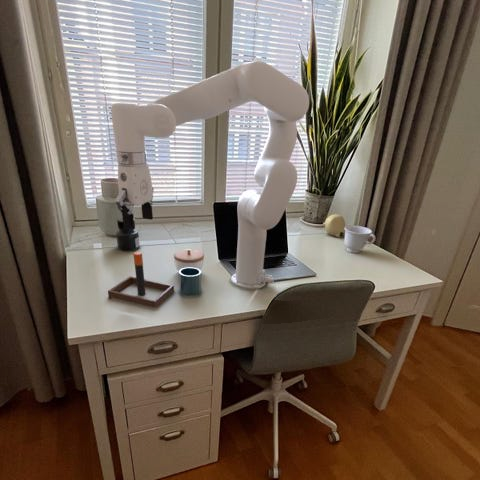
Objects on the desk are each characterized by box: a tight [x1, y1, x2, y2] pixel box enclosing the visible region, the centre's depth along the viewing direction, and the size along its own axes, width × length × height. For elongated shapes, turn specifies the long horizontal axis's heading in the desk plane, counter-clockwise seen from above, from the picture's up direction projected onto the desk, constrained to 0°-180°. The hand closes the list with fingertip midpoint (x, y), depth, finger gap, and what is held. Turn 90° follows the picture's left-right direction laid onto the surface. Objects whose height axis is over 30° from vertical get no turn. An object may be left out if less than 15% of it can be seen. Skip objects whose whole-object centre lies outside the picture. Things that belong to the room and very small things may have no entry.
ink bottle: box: [115, 216, 141, 252], centre depth 143 cm, size 10×9×12 cm
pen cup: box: [178, 267, 202, 297], centre depth 114 cm, size 7×7×8 cm
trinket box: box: [173, 248, 205, 273], centre depth 126 cm, size 11×11×9 cm
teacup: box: [344, 224, 376, 254], centre depth 157 cm, size 12×15×10 cm
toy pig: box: [322, 213, 346, 238], centre depth 176 cm, size 10×12×11 cm
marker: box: [133, 251, 146, 297], centre depth 108 cm, size 2×2×14 cm
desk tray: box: [107, 275, 175, 309], centre depth 111 cm, size 17×12×3 cm
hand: (138, 223), depth 100 cm, fingers open, 9 cm apart
